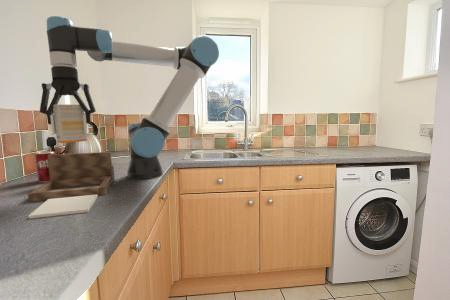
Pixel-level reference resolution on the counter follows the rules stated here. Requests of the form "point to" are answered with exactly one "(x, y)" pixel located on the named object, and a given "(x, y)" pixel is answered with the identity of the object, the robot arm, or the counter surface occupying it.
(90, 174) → the walnut case
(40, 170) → the soda can
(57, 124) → the supplement box
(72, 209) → the off-white pad
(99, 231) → the counter surface
